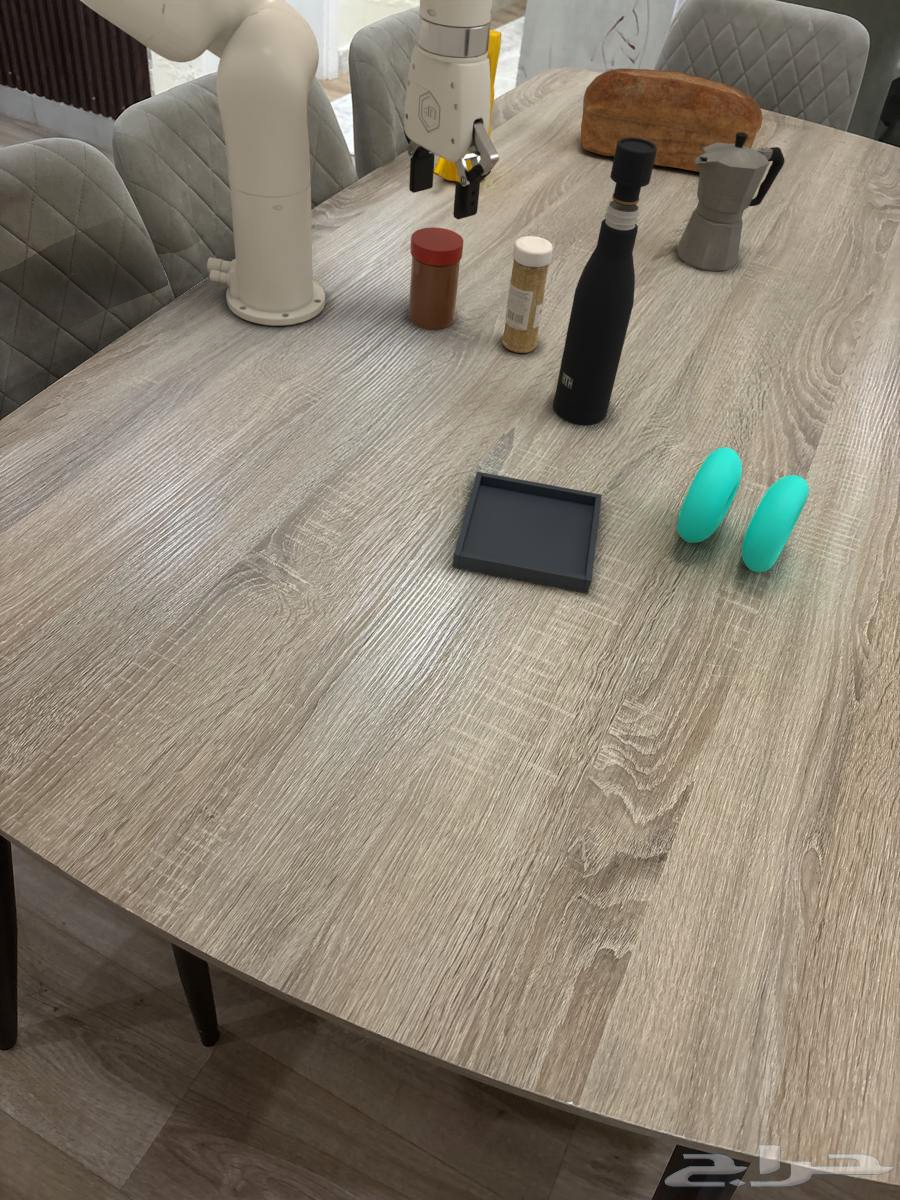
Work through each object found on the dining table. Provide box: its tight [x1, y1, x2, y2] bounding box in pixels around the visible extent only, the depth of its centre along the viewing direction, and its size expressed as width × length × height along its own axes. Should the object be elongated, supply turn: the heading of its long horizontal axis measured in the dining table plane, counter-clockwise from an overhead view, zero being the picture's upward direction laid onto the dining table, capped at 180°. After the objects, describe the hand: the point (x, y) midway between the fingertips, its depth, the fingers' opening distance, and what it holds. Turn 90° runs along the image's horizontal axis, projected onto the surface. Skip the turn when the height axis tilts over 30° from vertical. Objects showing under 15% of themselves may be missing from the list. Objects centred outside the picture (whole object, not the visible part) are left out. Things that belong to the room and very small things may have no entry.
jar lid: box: [409, 226, 464, 266], centre depth 116 cm, size 6×6×2 cm
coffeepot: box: [676, 132, 785, 272], centre depth 136 cm, size 15×9×18 cm, turn 113°
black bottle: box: [552, 138, 657, 426], centre depth 100 cm, size 6×6×30 cm
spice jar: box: [501, 235, 554, 354], centre depth 115 cm, size 5×5×13 cm
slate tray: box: [452, 471, 603, 594], centre depth 94 cm, size 13×13×2 cm
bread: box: [580, 68, 763, 173], centre depth 164 cm, size 12×31×14 cm, turn 76°
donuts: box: [676, 446, 810, 573], centre depth 92 cm, size 10×10×10 cm
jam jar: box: [408, 255, 461, 330], centre depth 119 cm, size 6×6×10 cm
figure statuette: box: [433, 28, 502, 183], centre depth 147 cm, size 18×8×22 cm, turn 159°
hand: (442, 201), depth 112 cm, fingers open, 7 cm apart
